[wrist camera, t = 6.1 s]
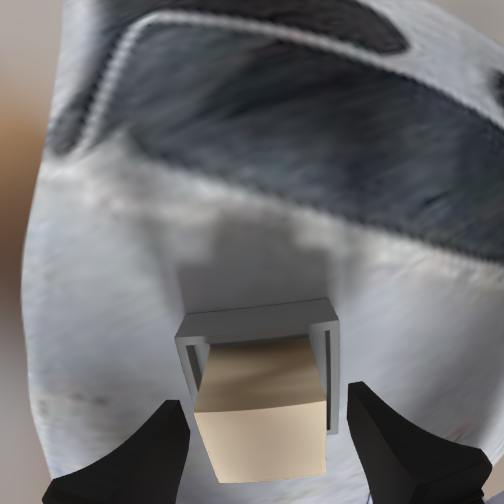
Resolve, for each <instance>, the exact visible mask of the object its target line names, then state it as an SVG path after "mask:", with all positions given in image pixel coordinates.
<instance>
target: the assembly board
mask: <svg viewBox="0 0 504 504" xmlns="http://www.w3.org/2000/svg"><path fill="white" fill-rule="evenodd" d="M307 337H309V340H310V343H311V347H312V351H313V354H314V358H315V361H316V365H317V368H318V372H319V376H320V379H321V383H322V386H323V390H324V394H325V397H326V436H327V435H332V434H338V422H339V387H340V336H339V319H338V317H337V315H336V313H335V311H334V309H333V307H332V305H331V303H330V301H329V300H328V298H324V299H317V300H310V301H302V302H294V303H287V304H279V305H270V306H262V307H253V308H244V309H235V310H225V311H215V312H204V313H193V314H186V315H185V317H184V319H183V321H182V323H181V325H180V327H179V329H178V331H177V333H176V335H175V337H174V339H175V343H176V346H177V350H178V354H179V358H180V361H181V365H182V368H183V372H184V375H185V379H186V382H187V385H188V389H189V392H190V395H191V398H192V402H193V405H194V408H195V404H196V400H197V396H198V392H199V389H200V385H201V381H202V377H203V373H204V370H205V366H206V362H207V358H208V355H209V351H210V348H219V347H230V346H241V345H251V344H260V343H269V342H277V341H285V340H293V339H300V338H307Z"/></svg>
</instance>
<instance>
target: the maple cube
mask: <svg viewBox="0 0 504 504" xmlns="http://www.w3.org/2000/svg"><path fill="white" fill-rule="evenodd" d="M193 414H194V417H195V419H196V422H197V425H198V428H199V431H200V434H201V437H202V439H203V442H204V445H205V448H206V450H207V453H208V456H209V458H210V461H211V464H212V466H213V469H214V471H215V474H216V476H217V479H218V481H219V483H243V482H262V481H275V480H285V479H294V478H302V477H310V476H316V475H323V474H326V397H325V394H324V390H323V386H322V383H321V379H320V376H319V372H318V368H317V365H316V361H315V358H314V354H313V351H312V347H311V343H310V340H309V337H307V338H300V339H293V340H285V341H277V342H269V343H260V344H251V345H241V346H230V347H219V348H210V351H209V355H208V358H207V362H206V366H205V370H204V373H203V377H202V381H201V385H200V389H199V392H198V396H197V400H196V404H195V408H194V412H193Z"/></svg>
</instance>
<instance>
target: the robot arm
mask: <svg viewBox="0 0 504 504" xmlns="http://www.w3.org/2000/svg"><path fill="white" fill-rule="evenodd" d="M347 421H348V425H349V429H350V434H351V437H352V440H353V443H354V445H355V448H356V451H357V453H358V456H359V459H360V461H361V464H362V466H363V469H364V472H365V475H366V478H367V481H368V485H369V489H370V497H369V501H368V504H504V491H502V492H500V493H499V494H497V495H495V496H493V497H492V498H490V499H489V500H488V501H486V500H485V498H484V493H483V491H482V489H481V488H482V486H483V485H484V483H485V482H486V480H487V479H488V477H489V475H490V473H491V471H492V464H491V462H490V461H489V459H488V458H487V456H486V455H485V453H484V452H483V451H482V450H481V449H479V448H474V447H469V446H465V445H461V444H457V443H454V442H451V441H448V440H445V439H443V438H440V437H438V436H436V435H433V434H431V433H429V432H427V431H425V430H423V429H421V428H419V427H418V426H416V425H414V424H413V423H411V422H410V421H408V420H407V419H405V418H404V417H402V416H401V415H400V414H398V413H397V412H396V411H395V410H393V409H392V408H391V407H390V406H389V405H387V404H386V403H385V402H384V401H383V400H382V399H381V398H379V397H378V396H377V395H376V394H375V393H374V392H373V391H372V390H371V389H370V388H369V387H368V386H367V385H366V384H365V383H364V382H363V381H360V382H355V383H349V384H348V402H347ZM189 440H190V429H189V427H188V424H187V421H186V418H185V415H184V412H183V410H182V407H181V404H180V401H179V400H166V401H165V402H164V403H163V404H162V405H161V406H160V407H159V408H158V409H157V410H156V412H155V413H154V414H153V415H152V416H151V417H150V418H149V419H148V420H147V421H146V422H145V423H144V424H143V425H142V426H141V427H140V428H139V429H138V430H137V431H136V432H135V433H134V434H133V435H132V436H131V437H130V438H129V439H128V440H126V441H125V442H124V443H123V444H122V445H120V446H119V447H118V448H116V449H115V450H114V451H112V452H111V453H109V454H108V455H106V456H105V457H103V458H101V459H100V460H98V461H96V462H95V463H93V464H91V465H89V466H87V467H85V468H83V469H80V470H78V471H76V472H73V473H71V474H68V475H65V476H62V477H59V478H55V479H53V480H52V482H51V484H50V485H49V487H48V489H47V491H46V492H45V494H44V496H43V498H42V502H43V504H175V503H176V496H177V491H178V487H179V483H180V480H181V476H182V472H183V469H184V465H185V461H186V457H187V454H188V448H189Z"/></svg>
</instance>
